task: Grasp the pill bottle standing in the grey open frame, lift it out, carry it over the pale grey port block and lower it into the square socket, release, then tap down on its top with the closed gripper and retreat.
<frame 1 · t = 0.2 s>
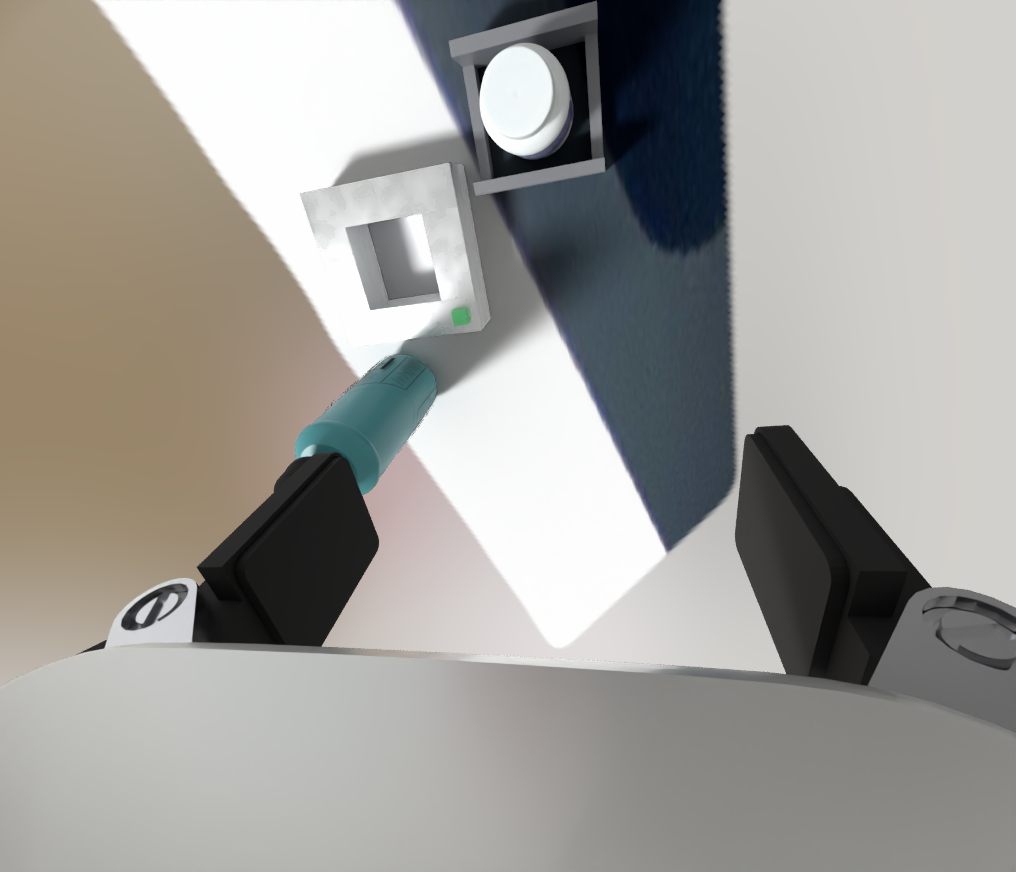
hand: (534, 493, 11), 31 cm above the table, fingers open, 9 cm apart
grey open frame: (536, 116, 32), on the table
pill bottle: (536, 116, 32), resting in grey open frame
beverage bottle: (413, 377, 44), on the table
port: (411, 257, 38), on the table
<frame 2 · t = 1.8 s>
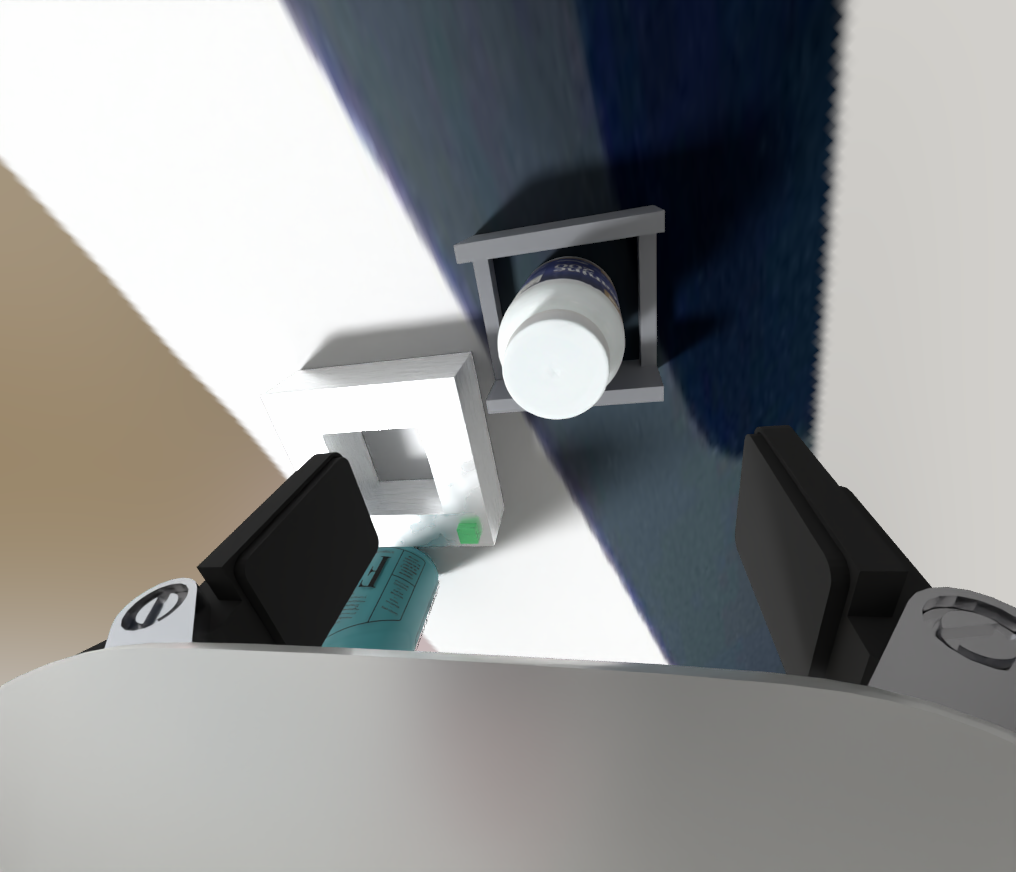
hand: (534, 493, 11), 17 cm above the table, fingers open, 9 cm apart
grey open frame: (567, 305, 24), on the table
pill bottle: (567, 304, 25), resting in grey open frame
beverage bottle: (410, 555, 37), on the table
port: (407, 442, 31), on the table
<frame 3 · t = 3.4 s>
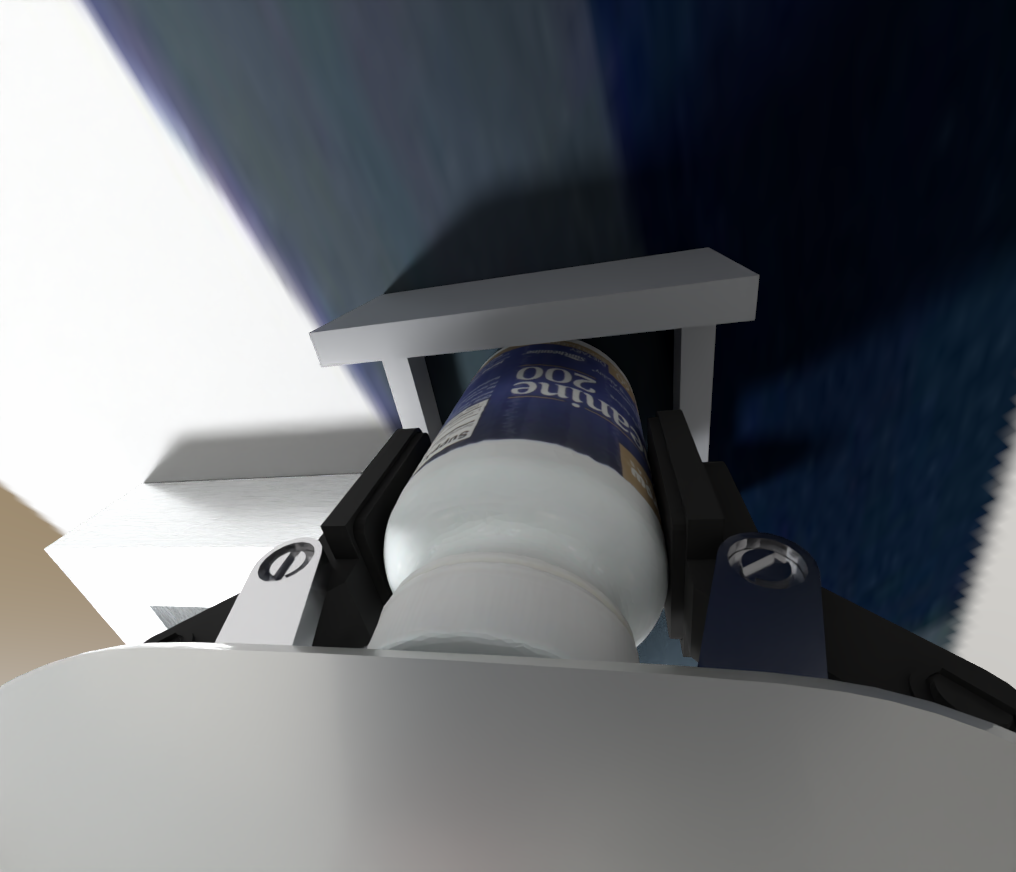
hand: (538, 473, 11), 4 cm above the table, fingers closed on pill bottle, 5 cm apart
grey open frame: (549, 412, 14), on the table
pill bottle: (550, 409, 14), resting in grey open frame, touching gripper
port: (314, 584, 21), on the table
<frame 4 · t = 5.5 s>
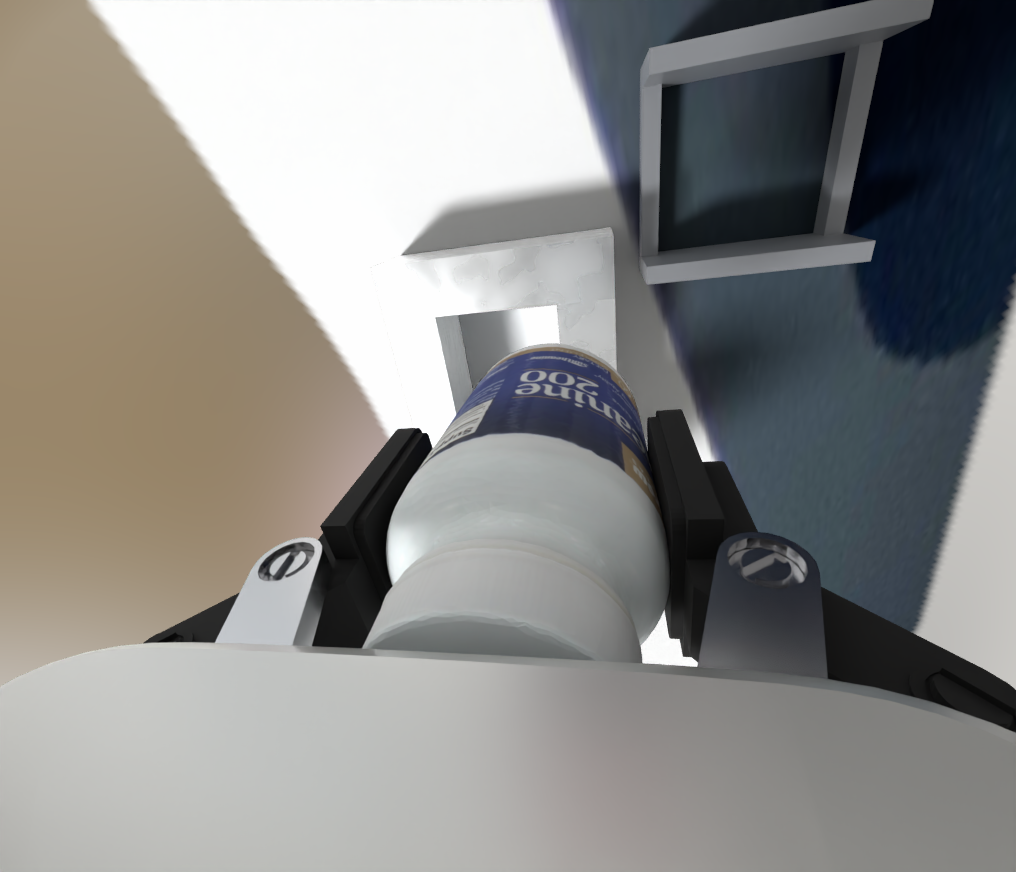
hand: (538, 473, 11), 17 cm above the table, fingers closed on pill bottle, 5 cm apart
grey open frame: (739, 163, 21), on the table
pill bottle: (553, 417, 15), point 13 cm above the table, touching gripper
port: (514, 346, 27), on the table
when the fingers open (5 cm above the table, at t = 7.8 s): pill bottle stays where it is, resting in port.
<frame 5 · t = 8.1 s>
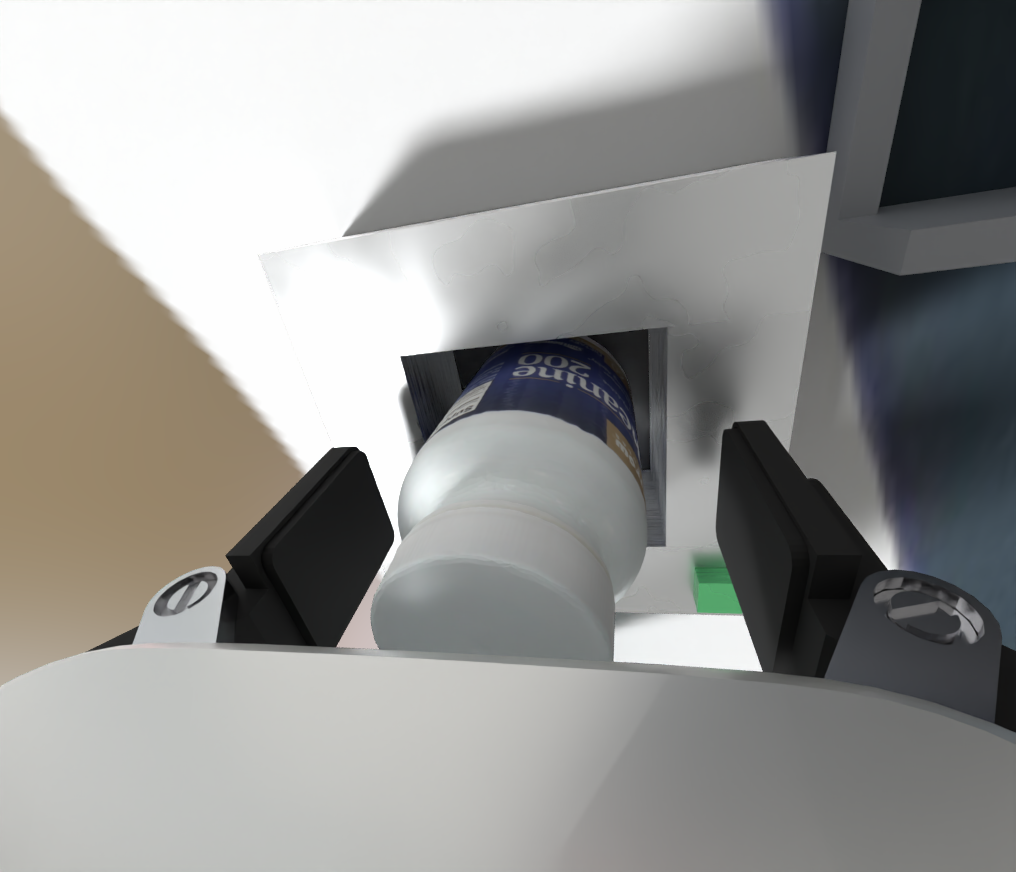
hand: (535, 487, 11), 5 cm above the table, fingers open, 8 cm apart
pill bottle: (552, 398, 16), resting in port
port: (552, 396, 15), on the table
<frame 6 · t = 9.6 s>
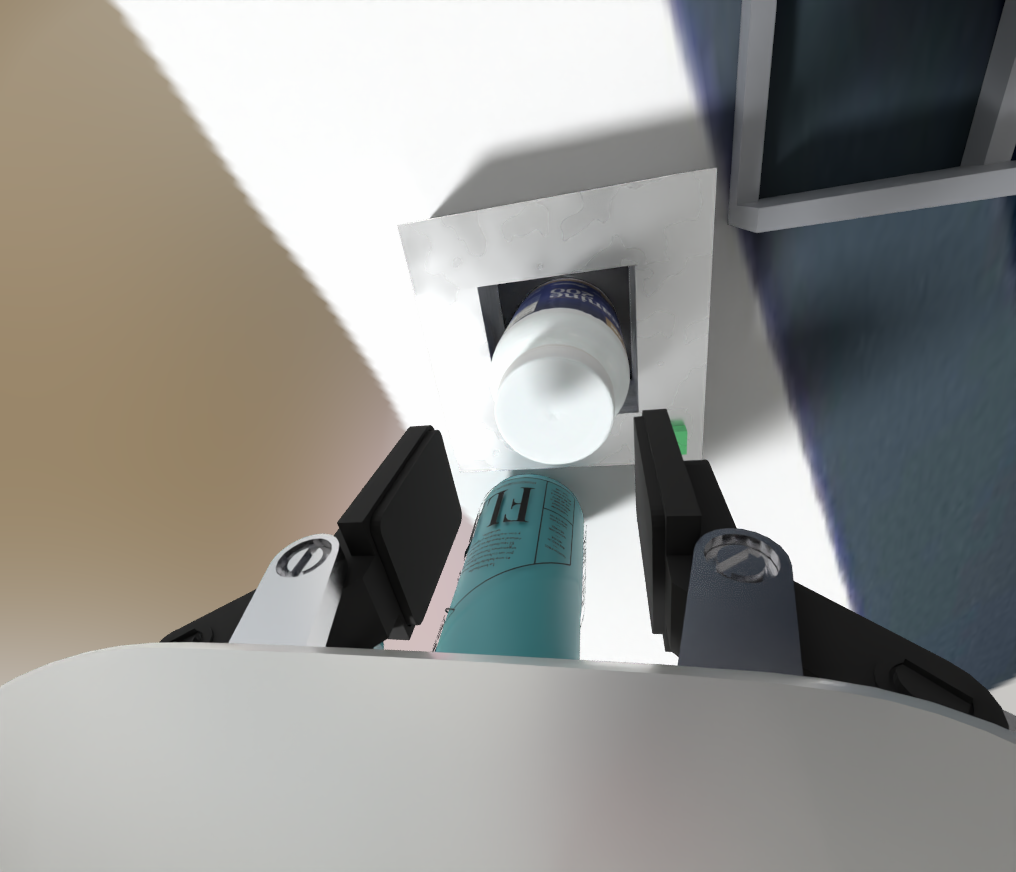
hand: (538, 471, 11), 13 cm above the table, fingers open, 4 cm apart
grey open frame: (868, 77, 16), on the table
pill bottle: (565, 328, 23), resting in port
beverage bottle: (536, 498, 29), on the table
port: (565, 327, 23), on the table
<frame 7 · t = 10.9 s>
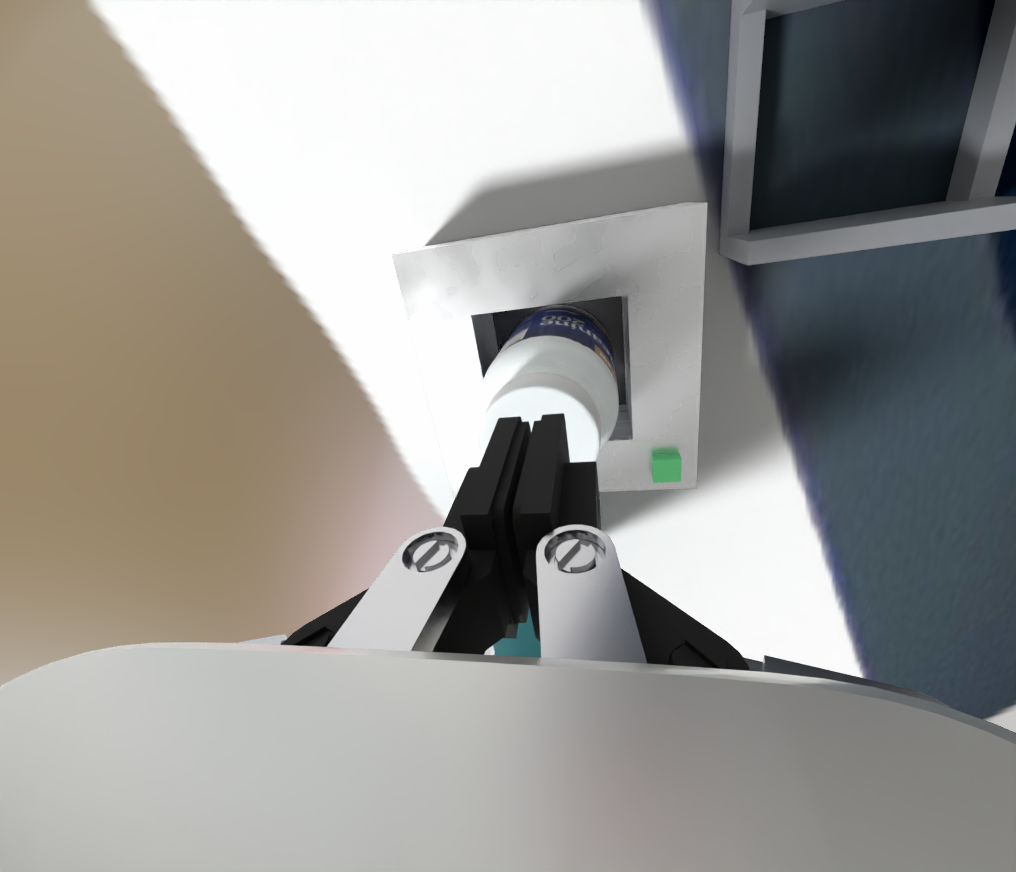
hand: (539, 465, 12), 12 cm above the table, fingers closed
grey open frame: (854, 115, 17), on the table
pill bottle: (559, 354, 23), resting in port
beverage bottle: (531, 521, 28), on the table
port: (560, 352, 23), on the table
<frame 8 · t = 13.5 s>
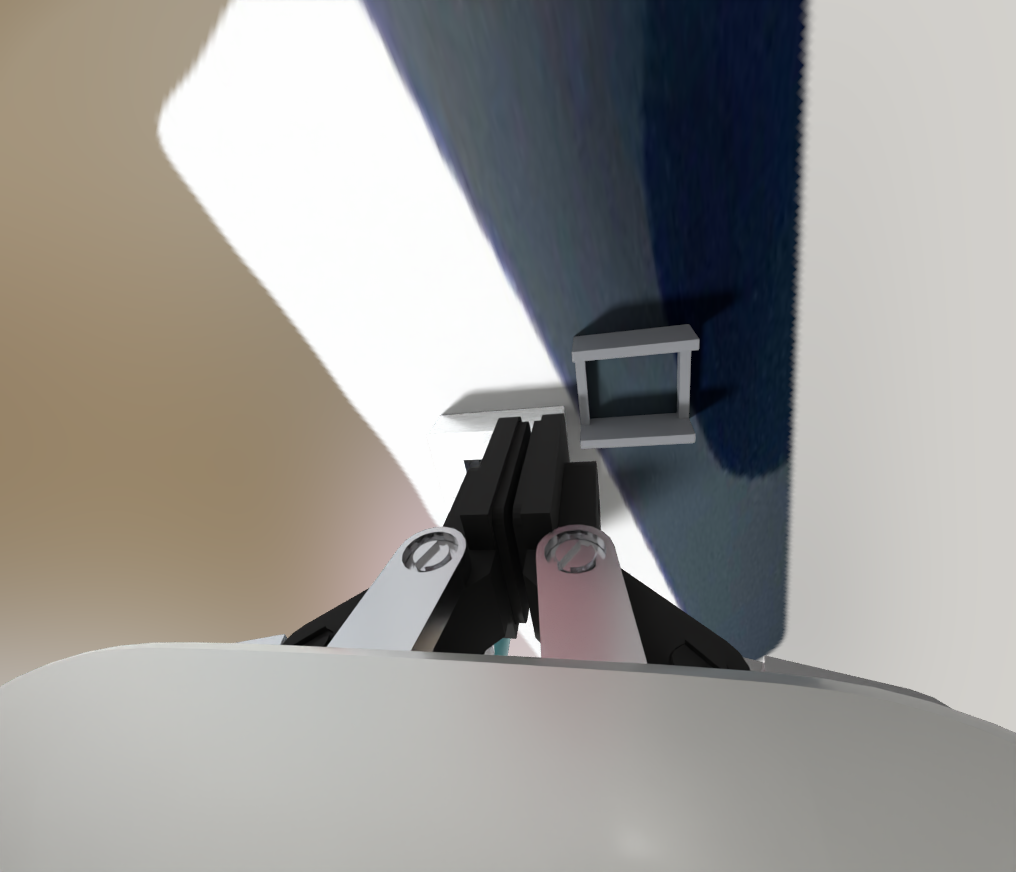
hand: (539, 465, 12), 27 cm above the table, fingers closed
grey open frame: (631, 379, 38), on the table
port: (510, 464, 44), on the table
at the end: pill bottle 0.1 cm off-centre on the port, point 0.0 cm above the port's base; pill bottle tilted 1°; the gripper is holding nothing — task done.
